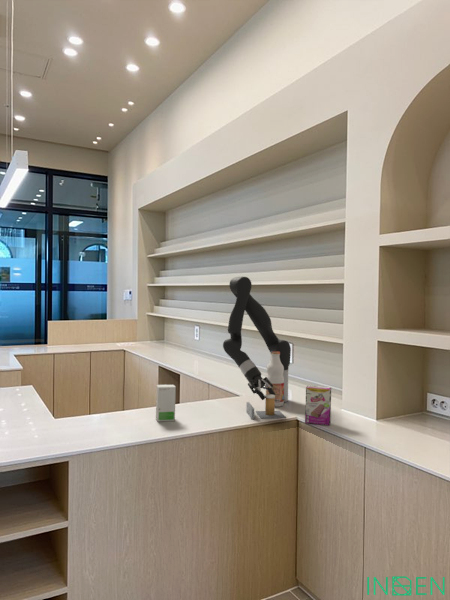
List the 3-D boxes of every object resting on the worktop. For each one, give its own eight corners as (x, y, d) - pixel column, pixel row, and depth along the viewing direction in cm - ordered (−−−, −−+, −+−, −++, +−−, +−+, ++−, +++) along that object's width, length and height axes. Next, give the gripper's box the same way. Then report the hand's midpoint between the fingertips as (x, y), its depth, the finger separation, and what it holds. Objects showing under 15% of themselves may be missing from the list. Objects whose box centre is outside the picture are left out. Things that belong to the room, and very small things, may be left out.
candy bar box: (304, 423, 200) (305, 387, 199) (305, 420, 204) (306, 385, 204) (330, 426, 197) (331, 388, 196) (331, 422, 201) (331, 386, 201)
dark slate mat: (255, 411, 219) (255, 411, 219) (279, 411, 221) (279, 410, 221) (261, 418, 207) (261, 417, 207) (286, 417, 209) (286, 417, 209)
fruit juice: (262, 403, 236) (263, 350, 235) (277, 402, 240) (278, 350, 240) (271, 407, 227) (272, 353, 227) (287, 406, 231) (287, 352, 231)
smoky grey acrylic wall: (246, 412, 218) (246, 402, 218) (248, 412, 218) (248, 401, 218) (251, 419, 205) (251, 408, 205) (254, 419, 206) (254, 408, 205)
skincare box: (157, 422, 199) (157, 387, 199) (155, 418, 206) (155, 384, 206) (175, 420, 202) (176, 386, 202) (173, 417, 208) (173, 383, 208)
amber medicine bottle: (264, 412, 216) (264, 394, 216) (273, 412, 216) (273, 394, 216) (266, 415, 211) (266, 396, 211) (275, 415, 212) (276, 396, 212)
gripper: (245, 368, 214) (265, 395, 207) (262, 364, 225) (282, 390, 218) (237, 377, 218) (256, 404, 211) (254, 373, 229) (272, 399, 222)
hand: (269, 397), depth 214 cm, fingers open, 8 cm apart
